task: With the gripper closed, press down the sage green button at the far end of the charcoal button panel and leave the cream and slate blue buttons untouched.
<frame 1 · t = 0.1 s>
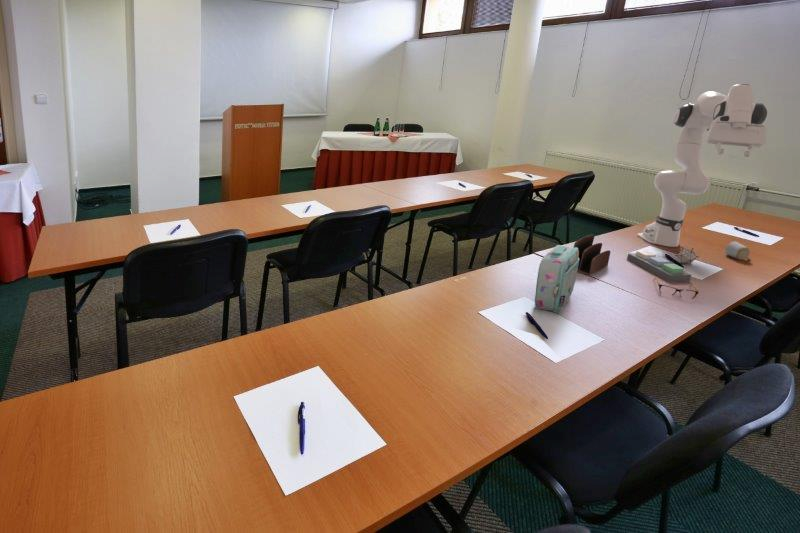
hand: (733, 155, 186), 54 cm above the table, tool tilted 30°, fingers open, 8 cm apart
letter holder: (588, 268, 211), on the table
lunch box: (552, 303, 173), on the table
green button: (672, 269, 206), point 3 cm above the table, slide at 0.0 cm
game die: (684, 264, 225), on the table
cream button: (645, 255, 221), point 3 cm above the table, slide at 0.0 cm
eyeglasses: (673, 291, 193), on the table
slate blue button: (658, 262, 214), point 3 cm above the table, slide at 0.0 cm
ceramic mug: (737, 258, 240), on the table
button panel: (656, 269, 215), on the table
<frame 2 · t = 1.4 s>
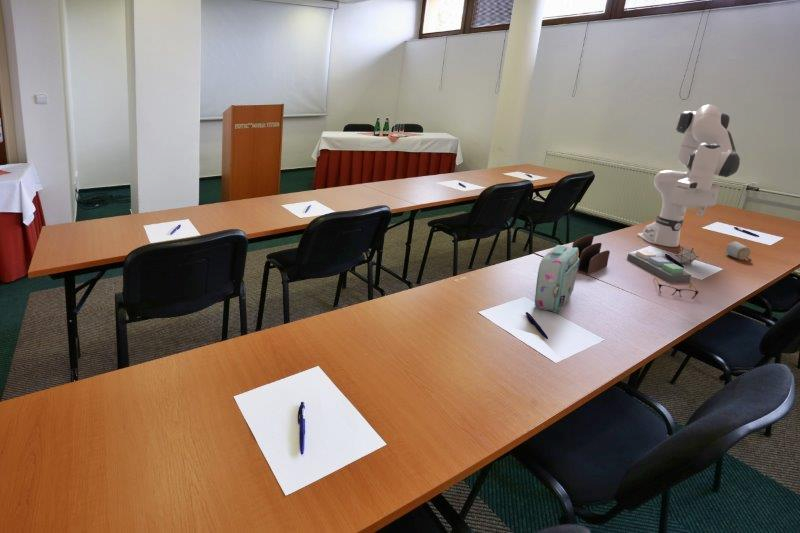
hand: (689, 215, 197), 28 cm above the table, tool pointing down, fingers open, 8 cm apart
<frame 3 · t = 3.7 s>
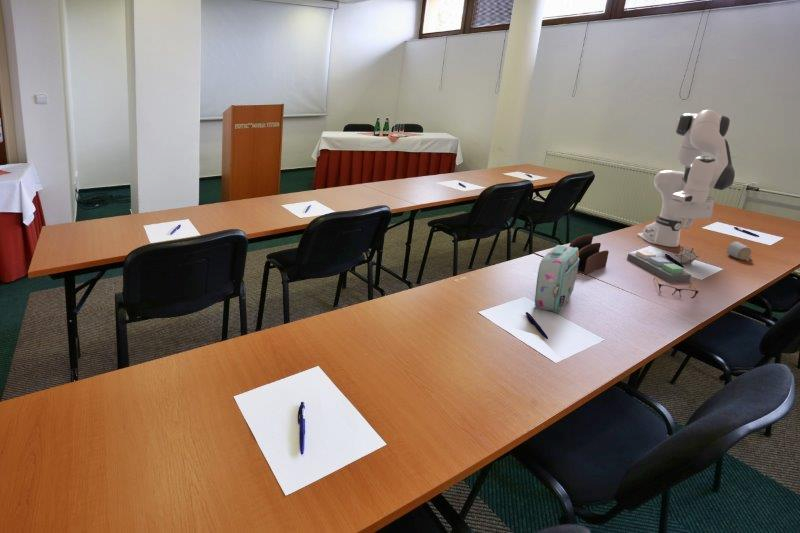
hand: (685, 228, 199), 23 cm above the table, tool pointing down, fingers closed
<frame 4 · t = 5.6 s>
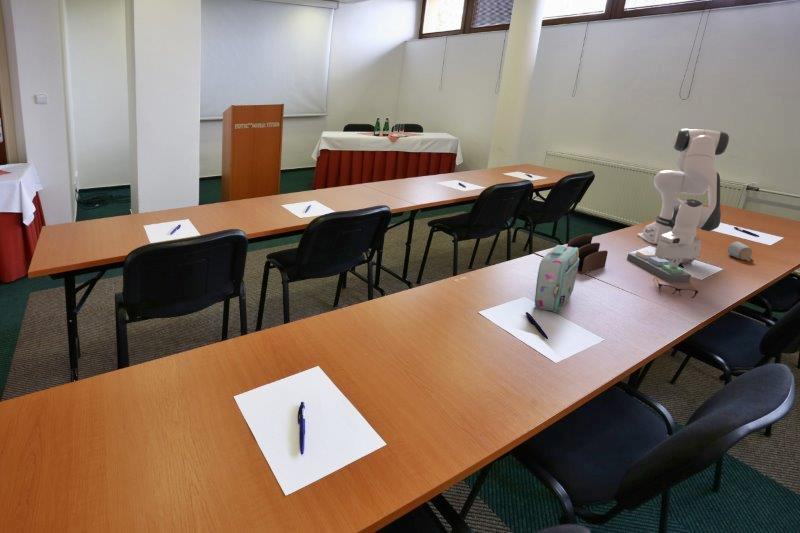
hand: (673, 267, 205), 5 cm above the table, tool pointing down, fingers closed, pressing on green button
green button: (672, 270, 206), point 3 cm above the table, slide at 0.5 cm, touching gripper
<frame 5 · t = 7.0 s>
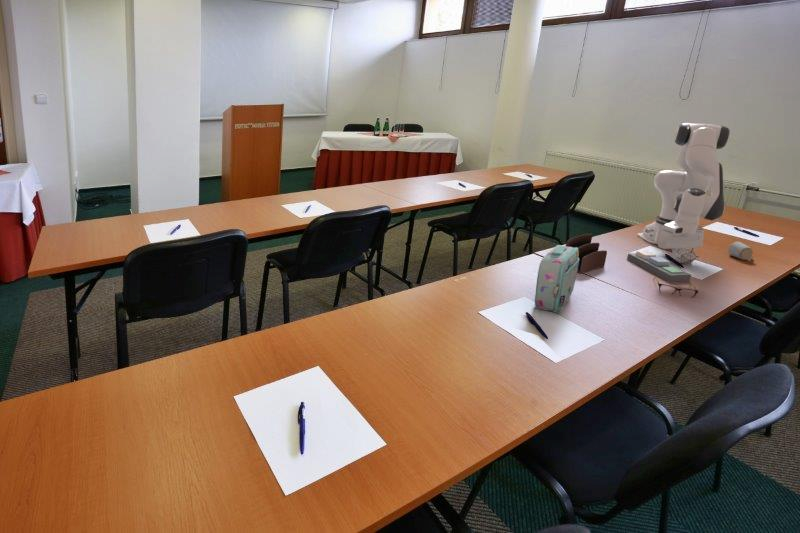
hand: (676, 257, 204), 9 cm above the table, tool pointing down, fingers closed
green button: (671, 272, 206), point 2 cm above the table, slide at 1.5 cm
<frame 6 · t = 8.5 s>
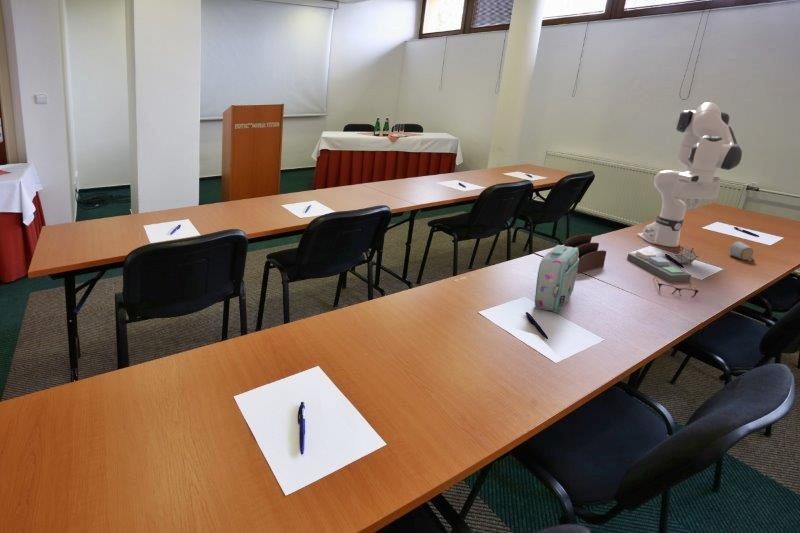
hand: (691, 209, 196), 31 cm above the table, tool pointing down, fingers closed
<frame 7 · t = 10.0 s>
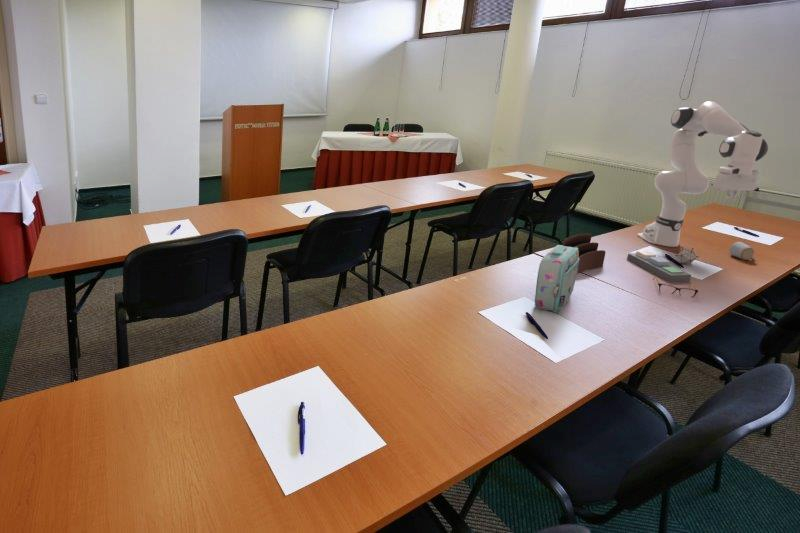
hand: (730, 199, 210), 33 cm above the table, tool pointing down, fingers closed
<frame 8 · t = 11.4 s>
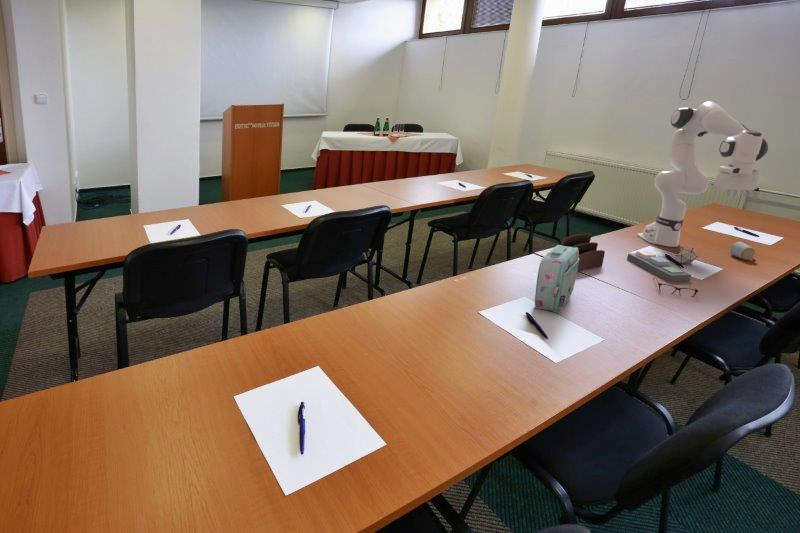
hand: (730, 199, 210), 33 cm above the table, tool pointing down, fingers closed
at the end: green button slide at 1.5 cm; cream button slide at 0.0 cm; slate blue button slide at 0.0 cm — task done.
